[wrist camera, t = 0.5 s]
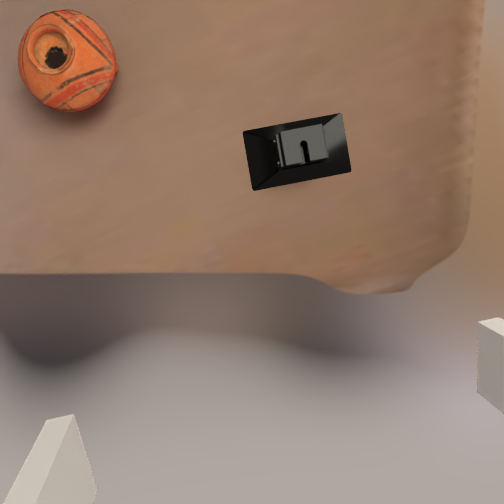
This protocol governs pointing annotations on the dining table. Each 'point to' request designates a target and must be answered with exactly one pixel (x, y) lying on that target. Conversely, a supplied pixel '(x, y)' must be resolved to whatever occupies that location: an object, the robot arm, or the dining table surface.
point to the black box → (297, 151)
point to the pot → (67, 61)
